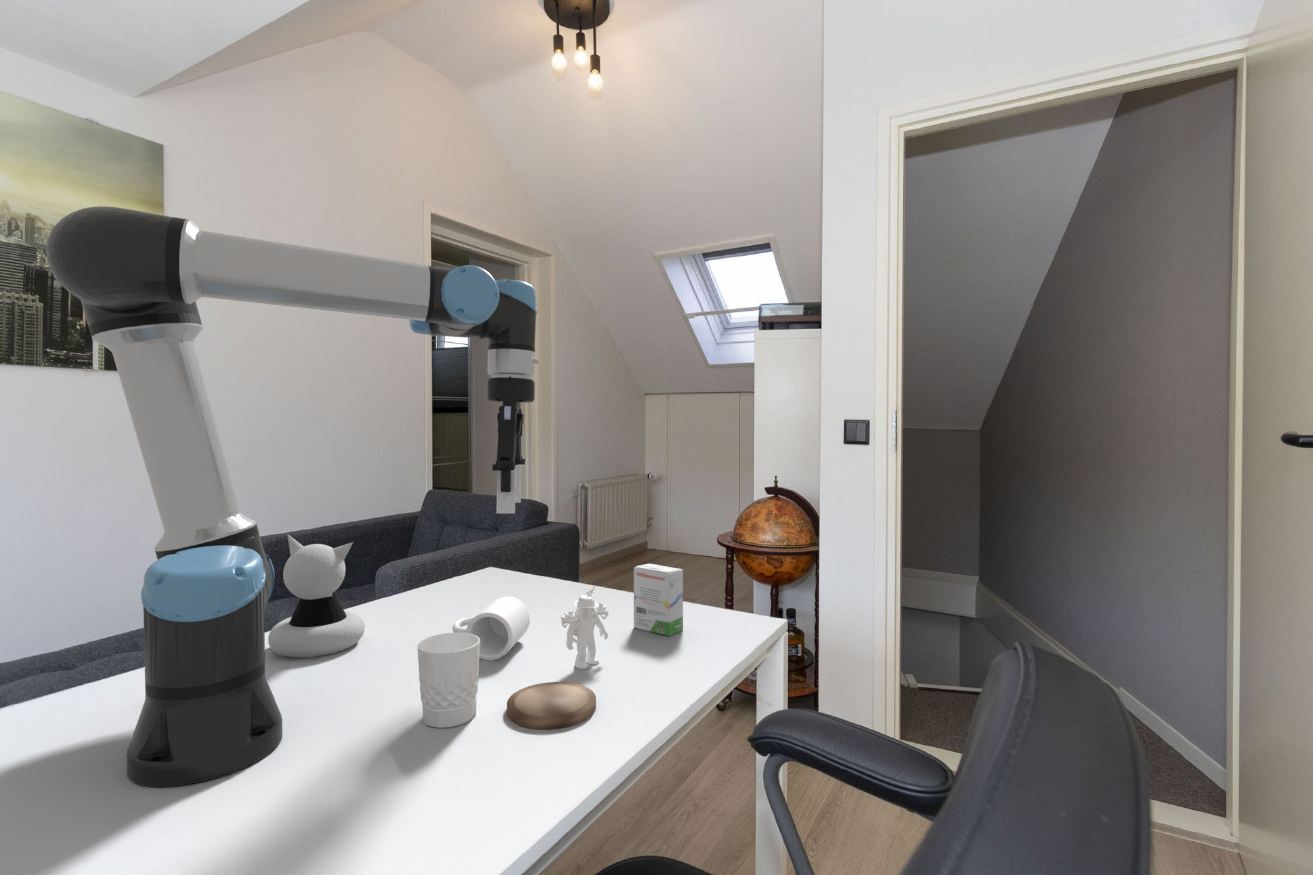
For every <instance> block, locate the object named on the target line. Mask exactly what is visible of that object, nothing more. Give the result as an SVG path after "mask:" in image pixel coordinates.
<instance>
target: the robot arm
mask: <svg viewBox="0 0 1313 875" xmlns="http://www.w3.org/2000/svg"><path fill="white" fill-rule="evenodd" d="M45 252H46V258H47V263H48V266H49V268H50V271H51V272H52V273H51V274H52V275H53V276H54V277H55V280H56V281H57V282H58V283H59V284H60V285H61V286H62V287H63V289H65V290H66V291H67V292H68V293H70V294H71V295H73V296H74V297H76V298H77V299H78V300H80V303H81V306H82V309H83V313H84V317H85V319H86V323H87V326H88V329H89V333H90V335H91V338H92V341H93V342H94V343H95V342H96V343H97V344H99V345H101V346H102V347H104V348H106V349H108V350H109V351H110V352H111V353H112V357H113V359H114V363H115V367H116V370H117V374H118V376H119V377H118V378H119V380H120V383H121V387H122V390H123V395H124V397H125V400H126V403H127V404H126V405H127V407H128V410H129V415H130V418H131V422H132V424H133V428H134V431H135V436H136V438H137V441H138V445H139V448H140V452H141V456H142V459H143V462H144V465H145V468H146V473H147V476H148V479H149V482H150V487H151V490H152V492H153V497H154V500H155V503H156V506H157V510H158V514H159V517H160V520H161V523H162V528H163V531H164V532H163V534H162V537H161V538H160V539H159V541H158V542H157V544H155V546H154V548H153V549H154V552H155V556H156V560H155V561H154V562H152V563H151V564H150V565H149V567H148V568H147V569H146V571H145V572H144V576H143V586H142V588H141V592H140V597H141V598H140V599H141V603H142V605H143V644H144V645H143V648H144V653H143V654H144V655H143V656H144V680H145V682H144V683H145V684H144V688H145V690H144V691H145V694H144V695H145V699H144V702H143V705H142V708H141V711H140V714H139V717H138V719H137V723H136V724H135V728H134V730H133V734H132V735H131V736H132V737H131V739H130V742H129V745H128V748H127V750H126V758H125V759H126V775H127V777H128V779H129V780H130V781H132V782H133V783H135V784H138V785H142V786H148V787H175V786H185V785H189V784H196V783H200V782H204V781H207V780H208V781H209V780H213V779H216V778H219V777H223V776H225V775H229V774H231V773H233V772H237V771H239V770H241V769H244V768H246V767H249V766H250V765H253V764H254V763H256V762H258V761H260V760H262V759H264V758H265V757H266V756H267V755H269V754H270V753H271V752H273V751H274V750H275V749H276V748H277V747H278V746H279V744H280V743H281V742H282V739H283V717H282V713H281V712H280V709H279V705H278V704H277V701H276V699H275V696H274V694H273V692H272V689H271V688H270V687H271V686H270V685H269V683H268V680H267V677H266V650H265V649H266V646H265V645H266V644H265V642H266V641H265V640H266V639H265V638H266V636H265V633H266V632H265V628H266V627H265V621H266V620H265V619H266V618H265V617H266V616H265V612H266V609H267V606H268V601H269V599H270V598H271V595H272V593H273V589H274V585H275V582H274V581H275V569H274V565H273V563H272V560H271V558H270V557H269V555H268V554H267V553H266V552H265V549H264V546H263V542H262V538H261V535H260V532H259V529H258V525H257V522H256V520H254V519H252V518H250V517H248V516H246V515H244V514H242V513H241V511H240V508H239V505H238V501H237V497H236V494H235V493H236V492H235V490H234V485H233V482H232V479H231V475H230V471H229V467H228V463H227V461H226V460H227V459H226V457H225V456H226V455H225V453H224V450H223V445H222V442H221V439H220V436H219V435H220V434H219V431H218V427H217V424H216V421H215V417H214V413H213V410H212V407H211V402H210V399H209V396H208V395H209V394H208V392H207V388H206V384H205V380H204V377H203V374H202V370H201V367H200V362H199V359H198V355H197V351H196V348H195V345H194V342H195V339H196V338H197V337H198V335H199V334H200V333H201V332H202V330H204V327H203V323H202V320H201V316H200V313H199V312H200V311H199V308H198V304H197V302H196V301H198V300H199V299H201V298H209V299H210V298H211V299H219V300H228V301H234V302H235V301H236V302H245V303H254V304H255V303H256V304H264V305H271V306H272V305H273V306H282V307H292V308H299V309H301V308H302V309H311V310H319V311H328V312H338V313H344V314H345V313H347V314H356V315H365V316H373V317H374V316H375V317H382V318H392V319H402V320H408V321H409V327H410V329H411V330H412V332H414V333H416V334H418V335H419V334H420V335H426V336H427V335H428V336H431V337H436V336H438V337H453V338H454V337H455V338H470V339H471V338H472V339H478V340H487V344H488V349H487V374H488V375H489V376H490V378H488V380H487V400H488V401H490V402H494V403H495V402H497V403H502V404H501V405H500V406H499V408H498V413H497V451H496V461H495V464H492V465H491V466H492V467H491V468H492V469H491V470H492V471H495V472H496V512H495V514H515V513H516V504H517V503H518V504H520V503H521V498H522V496H521V494H522V493H521V492H522V465H526V459H525V458H523V455H522V436H523V431H524V430H523V429H524V427H523V425H524V422H525V421H524V419H525V418H524V417H525V416H524V415H525V414H524V413H522V408H521V407H520V403H533V402H535V398H536V397H535V395H536V394H535V392H536V391H535V390H536V389H535V388H536V384H535V383H536V382H535V381H534V380H535V379H531V378H533V377H534V376H535V368H536V367H535V365H538V364H539V363H540V360H539V358H537V357H535V356H536V353H535V352H536V328H537V314H538V311H537V296H536V290H535V288H534V286H533V284H530V283H528V282H527V281H523V280H517V279H497V280H495V278H494V277H493V276H492V275H491V273H489V271H487V270H486V269H484V268H483V267H480V266H478V265H472V264H466V265H465V264H464V265H462V266H456V267H455V268H448V267H441V266H433V265H427V264H421V263H414V262H407V261H401V260H395V259H388V258H381V257H376V256H375V257H374V256H368V255H363V254H354V253H349V252H341V251H337V250H336V251H335V250H330V249H322V248H316V247H310V246H303V245H297V244H289V243H284V242H278V241H277V242H276V241H271V240H266V239H265V240H264V239H257V238H253V237H247V236H246V237H244V236H239V235H234V234H233V235H232V234H227V233H225V234H224V233H219V232H212V231H207V230H206V231H205V230H203V229H201V228H200V227H199V226H198V225H197V223H194V221H193V220H192V219H189V218H188V219H187V218H182V217H181V218H180V217H177V216H176V217H175V216H169V215H163V214H159V213H158V214H157V213H152V212H147V211H146V212H145V211H141V210H136V209H131V208H130V209H129V208H123V207H118V206H117V207H116V206H106V205H105V206H102V205H101V206H100V205H99V206H91V207H84V208H81V209H78V210H75V211H73V212H71V213H69V214H67V215H65V216H64V217H62V218H61V219H60V220H59V221H58V222H57V223H55V225H54V226H53V227H52V229H51V230H50V231H49V235H48V237H47V240H46V248H45Z"/></svg>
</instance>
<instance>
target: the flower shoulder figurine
mask: <svg viewBox="0 0 1313 875" xmlns="http://www.w3.org/2000/svg"><path fill="white" fill-rule="evenodd" d="M594 592H595V586H592V588H591V589H590V590H588V591H586V594H583V595H579V597H578V599H577V600H575V601H574V606H575V607H576V610H575V611H574V610H571V609H570V608H569V609H568V611H564V613H563V614H564V615H561V617H560V619H561V621H560V622H561V625H562V627H563V628H564V629H565V628H567V627H568V628H567V632H566V643H565V644H566V647H567V649H568V650H570V651H572V650H573V649H574V646H573V644H574V643H575V644H576V651H577V654H576V657H575V660H574V667H576V669H579V670H586V669H588V668H589V665H599V663H600V661H599V659H597V657H596V653H597V652H596V651H597V648H596V640H595V634H594V629H595V627H597V628H598V631H599V635H600V637H601V638H602V637H603V639H604V640H605V641H606V640H608V638H609V637H608V636H609V633H608V631H607V629H606V627H605V625H604V623H603V622H602V620H606V618H608V615H609V610H607V606H606V603H605V602H601V601H600V602H596V601H595V600H594V599H593V598H592V594H594ZM603 615H604V616H603ZM599 616H600V617H601V618H602V620H601V619H600V617H599ZM568 625H569V626H568ZM575 637H576V638H575Z"/></svg>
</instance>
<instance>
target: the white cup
mask: <svg viewBox="0 0 1313 875" xmlns="http://www.w3.org/2000/svg"><path fill="white" fill-rule="evenodd" d="M479 653H480V638H479V637H478V636H476V635H473V634H469V633H454V632H448V633H447V632H446V633H440V634H436V635H431V636H428V637H426V638H424V639H423V640H420V641H419V642H418V644H417V660H418V680H419V691H420V700H421V706H422V719H423V720H422V722H423V723H424V724H425V725H426V726H428V727H431V728H432V727H433V728H437V729H442V728H443V729H447V728H453V727H456V726H457V727H458V726H461V725H464V724H466V723H468V722H469V721H472V719H473V718H474V717H475V716H476V714H477V695H478V691H479V674H480V658H479Z"/></svg>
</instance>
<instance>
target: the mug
mask: <svg viewBox="0 0 1313 875" xmlns="http://www.w3.org/2000/svg"><path fill="white" fill-rule="evenodd" d="M530 620H531V619H530V613H529V610H528V608H527V606H526V605H525V604H524V603H523V602H522V601H521V600H520V599H518V598H516V597H513V596H502V597H499V598H497V599H495V600H493V601H492V602H491V603H490V604H489V605H487V606H486V607H485V608H483V610H481V611H480V612H478V613H477V614H476V615H475V616H470V617H469V616H468V617H464V618H460V619H458V620H455V622H454V623H453V625H452V633H469V634H473V635H476V636H478V637H479V638H480V653H479V659H480V660H484V661H495V660H499V659H501V658H503V657H504V656H506V654H508V652H510V650H512V648H513V647H514V646H515V645H516V644H517V643H518V641H520V639H521V638H522V637H523V636H524V635H525V634H526V632H527V631H528V629H529V626H530ZM465 626H466V627H465Z"/></svg>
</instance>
